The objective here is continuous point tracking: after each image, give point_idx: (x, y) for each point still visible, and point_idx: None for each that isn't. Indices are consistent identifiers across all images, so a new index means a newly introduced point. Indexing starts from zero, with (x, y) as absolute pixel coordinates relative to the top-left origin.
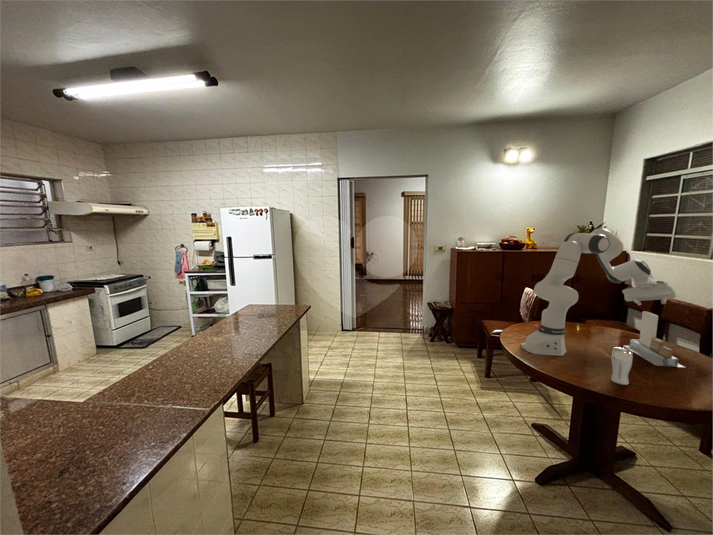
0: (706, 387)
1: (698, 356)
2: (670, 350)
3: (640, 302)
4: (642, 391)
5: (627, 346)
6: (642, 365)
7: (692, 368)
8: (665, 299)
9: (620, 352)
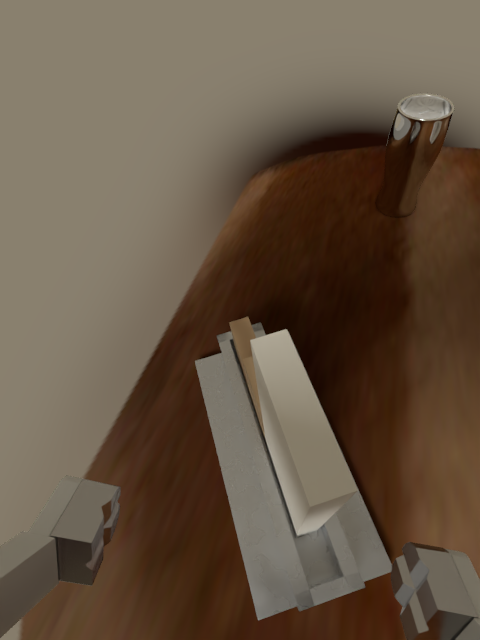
0: (200, 267)
1: (39, 612)
2: (237, 322)
3: (425, 555)
4: (349, 185)
5: (368, 558)
6: (325, 344)
7: (163, 400)
8: (10, 546)
9: (430, 94)
